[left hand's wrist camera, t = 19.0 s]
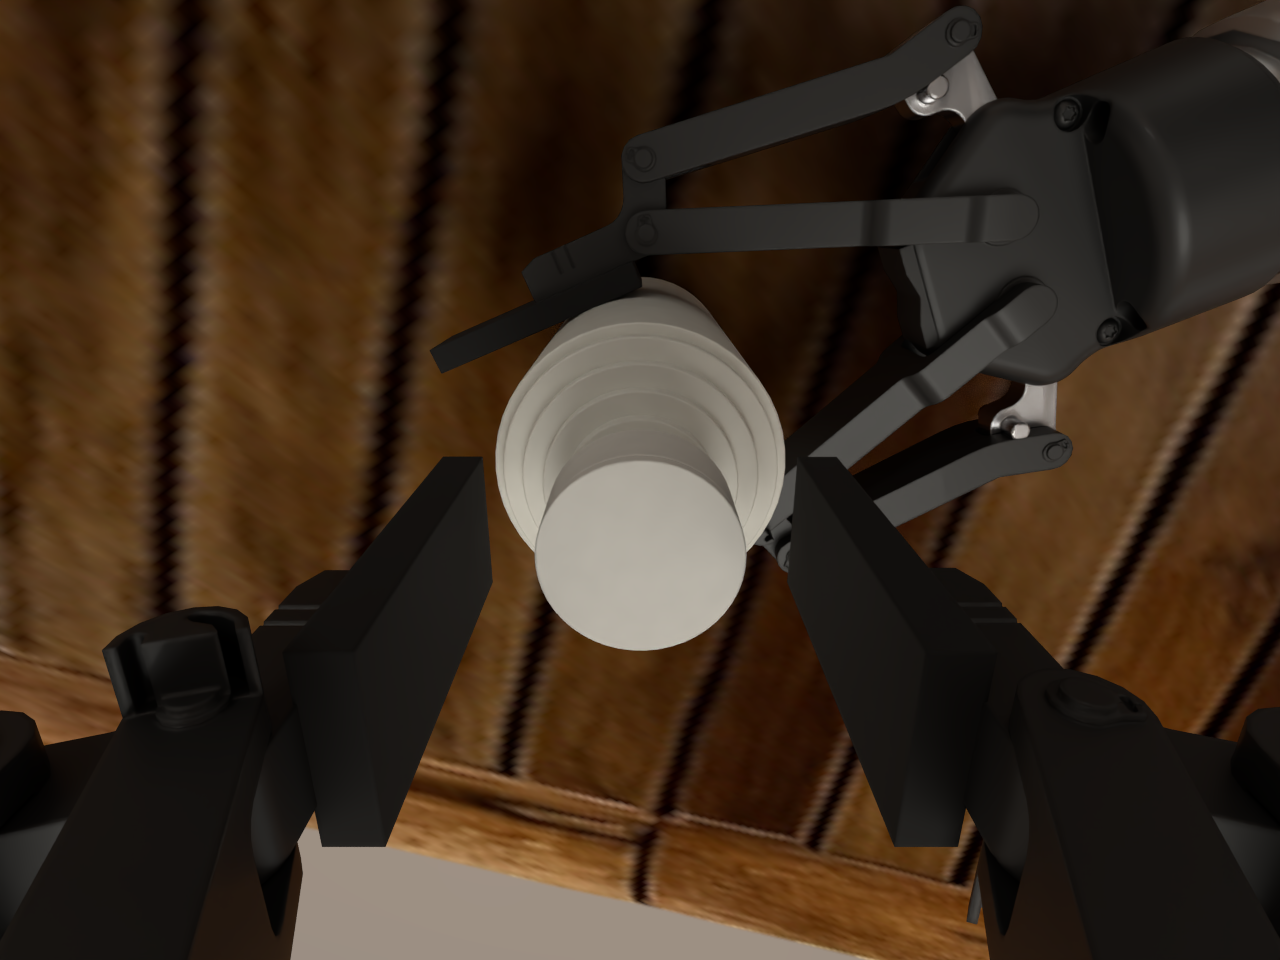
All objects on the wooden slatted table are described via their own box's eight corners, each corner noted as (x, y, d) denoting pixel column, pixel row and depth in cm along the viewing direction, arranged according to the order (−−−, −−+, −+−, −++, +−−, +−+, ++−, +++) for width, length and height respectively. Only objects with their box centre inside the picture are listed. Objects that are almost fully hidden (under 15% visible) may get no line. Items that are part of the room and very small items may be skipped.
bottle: (520, 349, 29) (371, 513, 13) (655, 239, 27) (678, 268, 11) (626, 476, 31) (611, 756, 15) (758, 378, 29) (900, 573, 13)
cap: (744, 436, 14) (760, 469, 12) (721, 605, 15) (732, 657, 13) (551, 420, 13) (538, 451, 12) (544, 592, 15) (531, 644, 13)
